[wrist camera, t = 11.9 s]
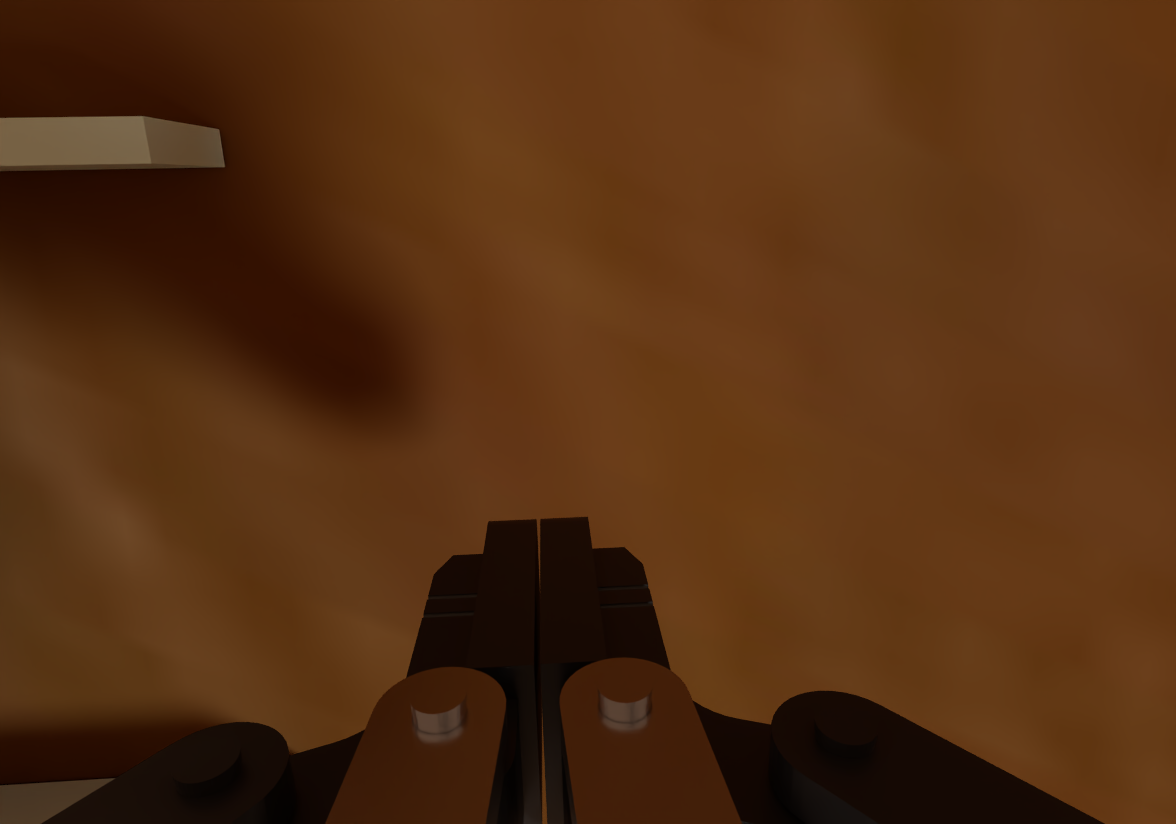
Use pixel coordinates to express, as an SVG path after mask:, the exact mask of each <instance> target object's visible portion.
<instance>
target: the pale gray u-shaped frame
mask: <svg viewBox="0 0 1176 824" xmlns="http://www.w3.org/2000/svg"><path fill="white" fill-rule="evenodd" d="M209 167H225V164H224V157H223V151H222V145H221V138H220V132H219V129H215V128H209V127H203V126H197V125H192V124H186V123H180V122H174V121H168V120H163V119H157V118H151V117H145V116H113V117H38V118H0V171H37V170H94V169H152V168H209ZM113 779H115V778H109V779H93V780H78V781H62V782H47V783H31V784H15V785H0V824H41V823H43V822H44V821H46V820H48V819H49V818H51V817H53V816H54V815H56V814H57V813H59V812H61V811H62V810H64V809H66V808H67V807H69V806H71V805H72V804H74V803H76V802H77V801H79V800H81V799H82V798H84V797H85V796H87V795H89V794H90V793H92V792H94V791H95V790H97V789H99V788H100V787H102V786H104V785H105V784H107V783H109V782H110V781H112V780H113Z"/></svg>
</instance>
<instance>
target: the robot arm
mask: <svg viewBox="0 0 1176 824" xmlns="http://www.w3.org/2000/svg"><path fill="white" fill-rule="evenodd" d="M542 714H543V736H544V758H545V780H546V802H547V823H548V824H1104V823H1102V822H1100V821H1099V820H1097V819H1095V818H1093V817H1091V816H1089V815H1087V814H1085V813H1083V812H1081V811H1080V810H1078V809H1076V808H1074V807H1072V806H1070V805H1068V804H1066V803H1064V802H1063V801H1061V800H1059V799H1057V798H1055V797H1053V796H1051V795H1049V794H1047V793H1046V792H1044V791H1042V790H1040V789H1038V788H1036V787H1034V786H1032V785H1030V784H1029V783H1027V782H1025V781H1023V780H1021V779H1019V778H1017V777H1015V776H1013V775H1012V774H1010V773H1008V772H1006V771H1004V770H1002V769H1000V768H998V767H996V766H994V765H993V764H991V763H989V762H987V761H985V760H983V759H981V758H979V757H977V756H976V755H974V754H972V753H970V752H968V751H966V750H964V749H962V748H960V747H959V746H957V745H955V744H953V743H951V742H949V741H947V740H945V739H943V738H942V737H940V736H938V735H936V734H934V733H932V732H930V731H928V730H926V729H924V728H923V727H921V726H919V725H917V724H915V723H913V722H911V721H909V720H907V719H906V718H904V717H902V716H900V715H898V714H896V713H894V712H892V711H890V710H889V709H887V708H885V707H883V706H881V705H879V704H877V703H875V702H872V701H870V700H868V699H865V698H862V697H859V696H856V695H852V694H848V693H843V692H836V691H814V692H807V693H803V694H799V695H797V696H794V697H792V698H790V699H789V700H787V701H785V702H784V703H783V704H782V705H781V706H780V707H779V708H778V709H777V711H776V712H775V714H774V716H773V720H772V723H771V725H770V724H764V723H759V722H753V721H748V720H742V719H737V718H733V717H728V716H724V715H722V714H719V713H716V712H713V711H711V710H709V709H707V708H705V707H702V706H701V705H699V704H698V703H696V702H694V701H693V700H692V698H691V696H690V693H689V691H688V689H687V687H686V685H685V684H684V682H683V681H682V680H681V679H680V678H679V677H678V676H677V675H676V674H675V673H673V672H672V671H671V670H670V666H669V662H668V658H667V655H666V651H665V647H664V643H663V639H662V635H661V632H660V628H659V624H658V620H657V616H656V613H655V609H654V606H653V601H652V597H651V594H650V590H649V589H648V582H647V578H646V575H645V571H644V567H643V564H642V563H641V562H640V561H639V560H638V559H637V558H636V557H634V556H633V555H632V554H631V553H630V552H629V551H628V550H627V549H626V548H624V547H619V548H598V549H592V543H591V536H590V529H589V522H588V517H574V518H551V519H540V582H539V560H538V537H537V521H536V519H532V520H509V521H489V522H488V526H487V533H486V539H485V546H484V552H483V554H472V555H453V556H452V557H451V558H450V559H449V560H448V561H447V562H446V563H445V564H444V565H443V566H442V567H441V568H440V569H439V570H438V571H437V572H436V573H435V574H434V576H433V580H432V584H431V588H430V591H429V595H428V600H427V602H426V606H425V610H424V618H422V621H421V625H420V628H419V632H418V636H417V640H416V643H415V647H414V651H413V654H412V658H411V662H410V666H409V669H408V673H407V677H406V678H405V679H403V680H402V681H400V682H398V683H397V684H395V685H394V686H392V687H391V688H390V689H389V690H388V691H387V692H386V693H384V694H383V696H382V697H381V698H380V699H379V701H378V702H377V704H376V706H375V708H374V709H373V712H372V714H371V717H370V719H369V721H368V724H367V726H366V728H365V730H363V731H361V732H359V733H357V734H355V735H353V736H351V737H348V738H346V739H343V740H340V741H337V742H335V743H331V744H328V745H324V746H321V747H318V748H314V749H311V750H307V751H304V752H300V753H297V754H294V755H290V756H289V750H288V746H287V742H286V741H285V739H284V737H283V736H282V735H281V734H280V733H279V732H278V731H277V730H275V729H273V728H271V727H269V726H266V725H263V724H259V723H251V722H235V723H227V724H221V725H217V726H213V727H209V728H206V729H203V730H200V731H197V732H195V733H193V734H191V735H188V736H186V737H184V738H182V739H180V740H178V741H177V742H175V743H173V744H171V745H169V746H168V747H166V748H164V749H163V750H161V751H160V752H158V753H156V754H155V755H153V756H151V757H150V758H148V759H146V760H145V761H143V762H141V763H140V764H138V765H137V766H135V767H133V768H132V769H130V770H128V771H127V772H125V773H123V774H122V775H120V776H118V777H117V778H115V779H113V780H112V781H110V782H109V783H107V784H105V785H104V786H102V787H100V788H99V789H97V790H95V791H94V792H92V793H90V794H89V795H87V796H85V797H84V798H82V799H81V800H79V801H77V802H76V803H74V804H72V805H71V806H69V807H67V808H66V809H64V810H62V811H61V812H59V813H57V814H56V815H54V816H53V817H51V818H49V819H48V820H46V821H44V822H43V823H41V824H542Z"/></svg>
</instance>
